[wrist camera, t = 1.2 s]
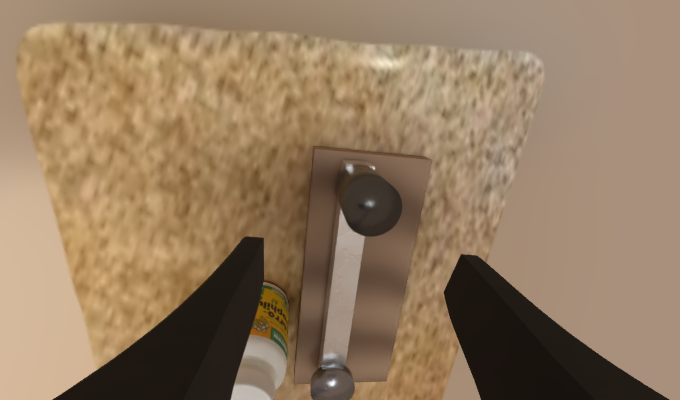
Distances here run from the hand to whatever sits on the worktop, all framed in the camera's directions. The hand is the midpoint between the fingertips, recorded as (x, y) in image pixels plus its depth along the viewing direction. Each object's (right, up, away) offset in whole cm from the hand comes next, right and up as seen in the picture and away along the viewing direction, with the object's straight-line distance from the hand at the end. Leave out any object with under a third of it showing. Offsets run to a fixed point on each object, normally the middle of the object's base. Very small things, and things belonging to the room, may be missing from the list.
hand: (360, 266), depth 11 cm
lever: (-1, -4, +14) cm, 14 cm away
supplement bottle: (-8, -7, +16) cm, 19 cm away
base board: (0, -4, +16) cm, 16 cm away
